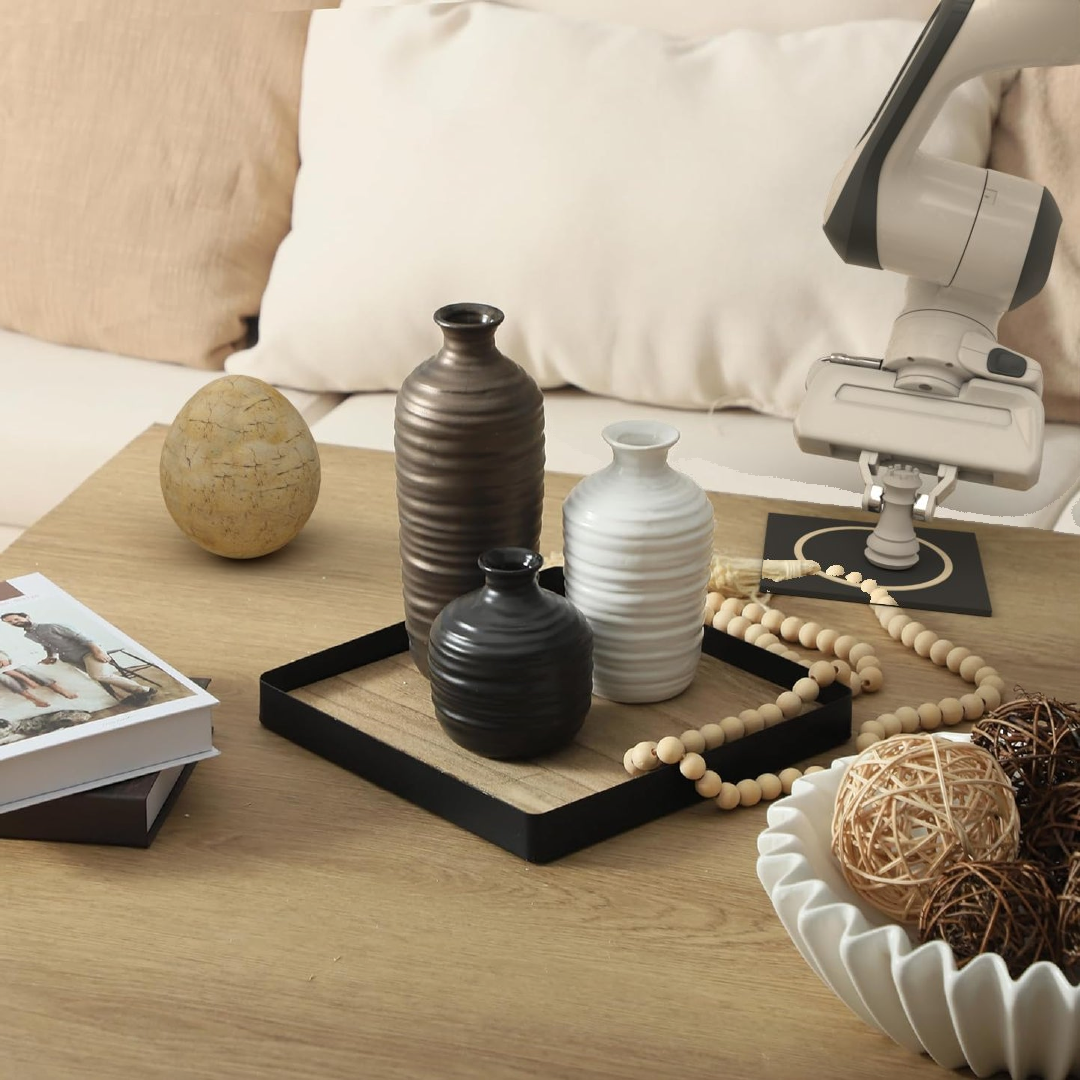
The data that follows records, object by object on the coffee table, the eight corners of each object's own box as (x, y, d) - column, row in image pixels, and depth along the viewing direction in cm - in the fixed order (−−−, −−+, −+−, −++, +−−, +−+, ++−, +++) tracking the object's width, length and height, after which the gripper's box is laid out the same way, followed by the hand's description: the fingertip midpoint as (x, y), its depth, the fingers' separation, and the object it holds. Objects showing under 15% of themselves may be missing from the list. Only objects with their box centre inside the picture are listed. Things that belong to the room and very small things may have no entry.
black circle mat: (974, 538, 129) (975, 531, 129) (991, 617, 115) (992, 608, 115) (767, 518, 132) (768, 510, 132) (759, 592, 118) (759, 583, 117)
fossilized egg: (242, 511, 130) (233, 345, 124) (354, 546, 123) (351, 373, 117) (132, 558, 120) (117, 380, 114) (248, 598, 113) (239, 412, 107)
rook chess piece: (882, 544, 125) (895, 456, 122) (928, 561, 122) (942, 471, 119) (852, 558, 122) (864, 468, 119) (899, 576, 119) (912, 483, 116)
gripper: (811, 331, 125) (767, 474, 121) (1061, 367, 118) (1024, 521, 113) (819, 368, 131) (777, 506, 126) (1058, 405, 123) (1023, 553, 119)
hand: (896, 514), depth 120 cm, fingers closed on rook chess piece, 3 cm apart
